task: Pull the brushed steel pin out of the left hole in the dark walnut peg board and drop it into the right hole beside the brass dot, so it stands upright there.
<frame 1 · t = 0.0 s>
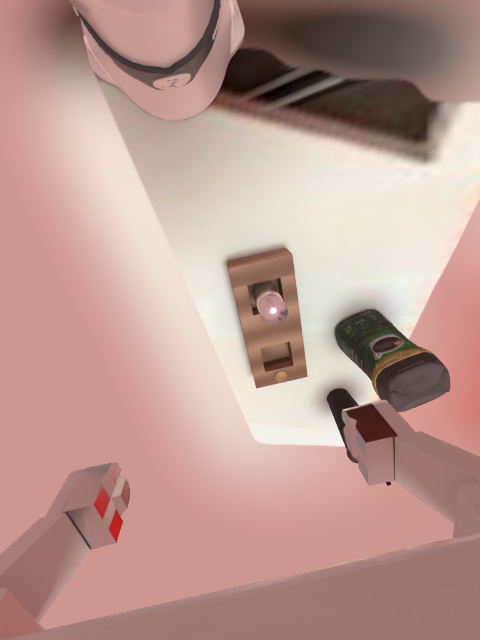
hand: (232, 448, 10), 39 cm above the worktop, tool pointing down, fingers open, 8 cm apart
board: (267, 318, 52), on the worktop
coffee jar: (358, 329, 55), on the worktop
pin: (263, 290, 48), point 1 cm above the worktop, touching board
drinking cup: (337, 396, 62), on the worktop
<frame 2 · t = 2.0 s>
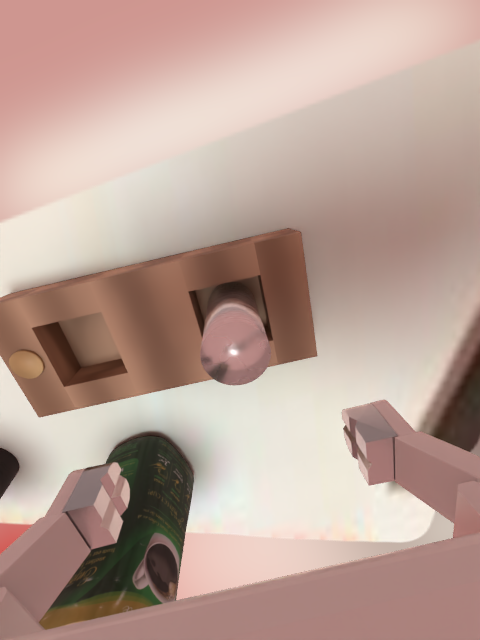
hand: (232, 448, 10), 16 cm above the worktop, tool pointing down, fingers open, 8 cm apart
board: (166, 315, 25), on the worktop
coffee jar: (153, 463, 32), on the worktop
pin: (231, 304, 24), point 1 cm above the worktop, touching board
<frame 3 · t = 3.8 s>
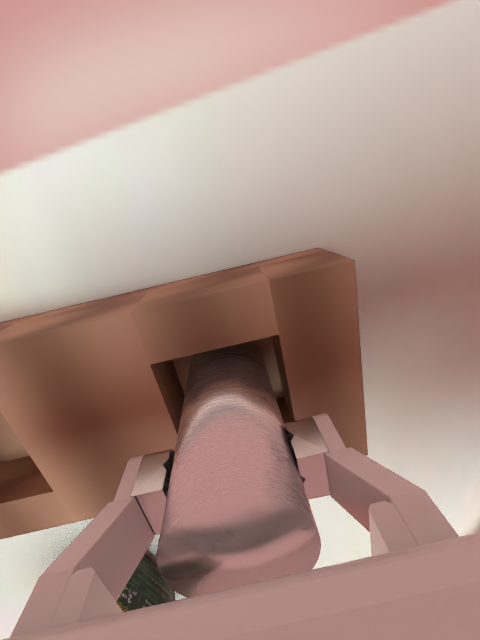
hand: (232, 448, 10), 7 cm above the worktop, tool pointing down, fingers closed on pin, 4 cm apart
board: (125, 382, 16), on the worktop
coffee jar: (118, 574, 23), on the worktop
pin: (227, 367, 15), point 1 cm above the worktop, touching board, gripper
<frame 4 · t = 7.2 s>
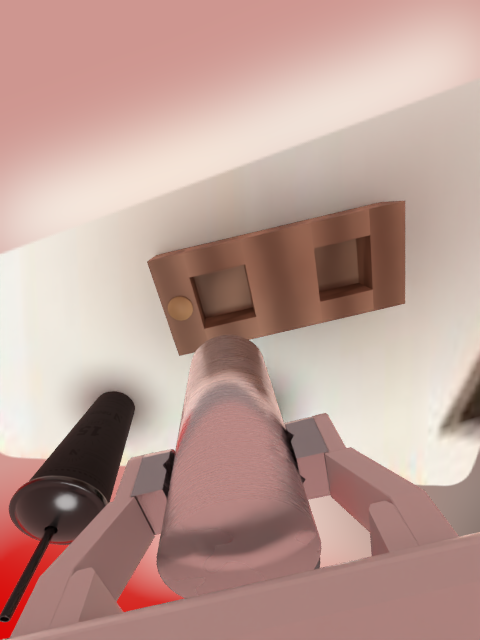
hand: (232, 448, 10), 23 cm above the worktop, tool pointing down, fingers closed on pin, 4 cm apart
board: (276, 275, 31), on the worktop
pin: (227, 368, 15), point 17 cm above the worktop, touching gripper
drinking cup: (116, 406, 36), on the worktop
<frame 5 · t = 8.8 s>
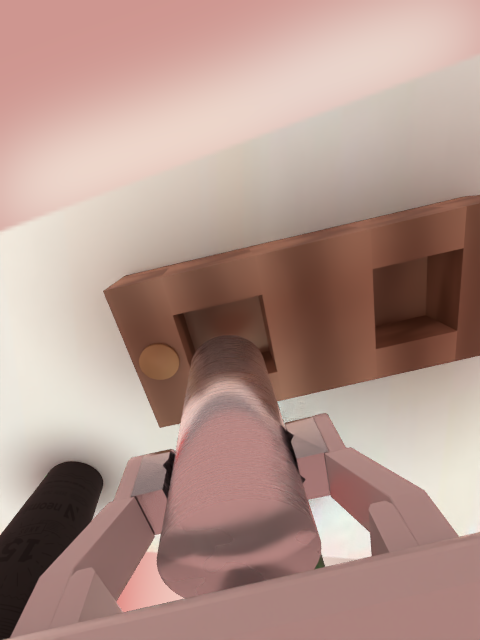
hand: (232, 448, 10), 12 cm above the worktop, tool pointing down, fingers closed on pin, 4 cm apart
board: (303, 303, 21), on the worktop
pin: (227, 368, 15), point 7 cm above the worktop, touching gripper
drinking cup: (77, 479, 26), on the worktop
when the fingers open (8 cm above the worktop, at t = 10.4 s): pin stays where it is, resting on board.
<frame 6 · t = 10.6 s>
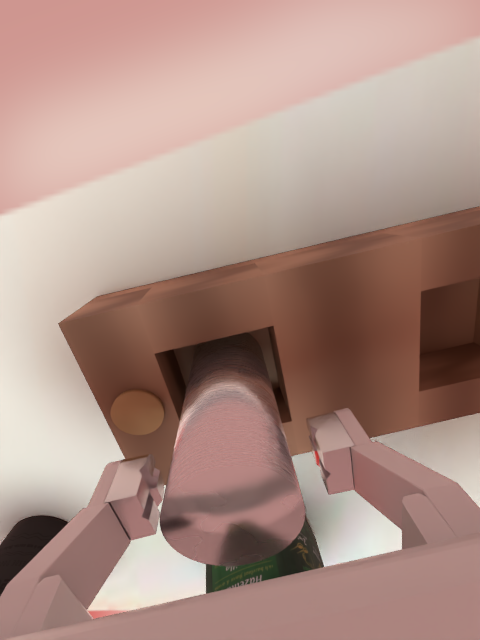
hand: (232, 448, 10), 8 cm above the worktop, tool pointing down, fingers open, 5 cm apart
board: (322, 328, 17), on the worktop
coffee jar: (261, 529, 24), on the worktop
pin: (228, 360, 16), point 1 cm above the worktop, touching board
drinking cup: (47, 534, 22), on the worktop
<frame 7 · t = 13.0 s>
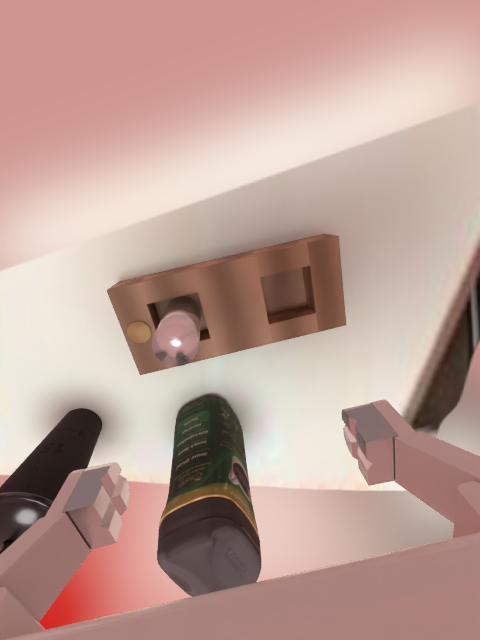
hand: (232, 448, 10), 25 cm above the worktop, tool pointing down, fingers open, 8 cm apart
board: (231, 298, 34), on the worktop
coffee jar: (209, 422, 40), on the worktop
pin: (183, 313, 33), point 1 cm above the worktop, touching board
drinking cup: (84, 422, 38), on the worktop
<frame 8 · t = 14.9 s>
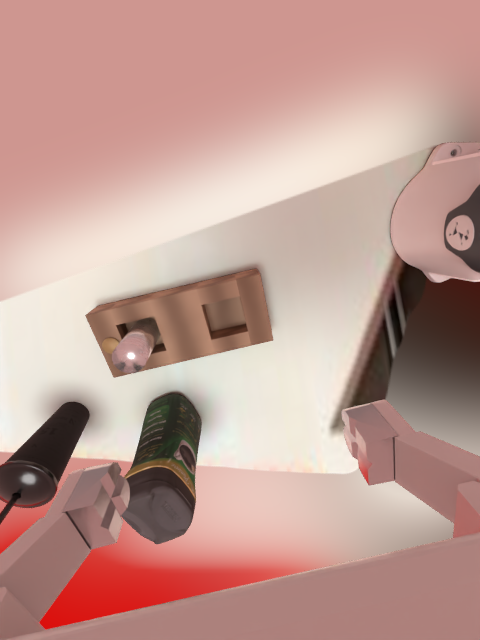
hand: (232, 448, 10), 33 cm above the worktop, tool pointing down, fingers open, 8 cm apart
board: (186, 318, 43), on the worktop
coffee jar: (175, 414, 50), on the worktop
pin: (147, 330, 42), point 1 cm above the worktop, touching board
drinking cup: (75, 412, 48), on the worktop
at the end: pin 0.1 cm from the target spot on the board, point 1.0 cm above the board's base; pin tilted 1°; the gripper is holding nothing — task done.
